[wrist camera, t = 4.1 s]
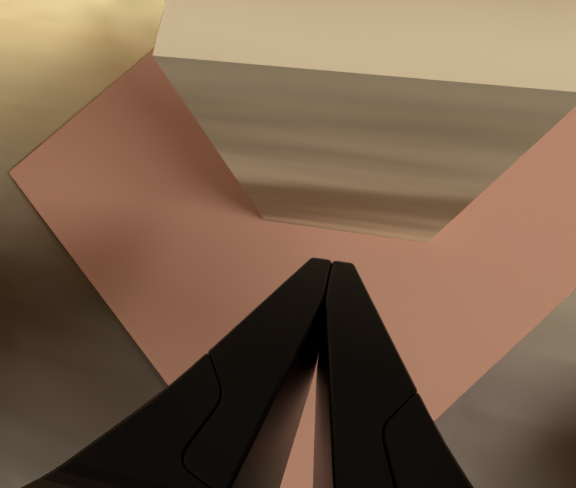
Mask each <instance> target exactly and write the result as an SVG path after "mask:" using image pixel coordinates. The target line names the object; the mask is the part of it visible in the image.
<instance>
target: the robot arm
mask: <svg viewBox="0 0 576 488" xmlns="http://www.w3.org/2000/svg"><path fill="white" fill-rule="evenodd" d="M317 360H318V363H317ZM316 365H317V374H316V400H315V431H314V463H313V488H474V487H473V486H472V484H471V483H470V481H469V480H468V478H467V477H466V475H465V473H464V472H463V470H462V469H461V467H460V465H459V464H458V462H457V461H456V459H455V457H454V456H453V454H452V453H451V451H450V449H449V448H448V446H447V445H446V443H445V441H444V439H443V437H442V436H441V434H440V432H439V430H438V428H437V426H436V425H435V423H434V421H433V419H432V417H431V416H430V414H429V412H428V410H427V408H426V406H425V404H424V402H423V400H422V398H421V396H420V394H419V393H417V388H416V386H415V384H414V382H413V380H412V378H411V376H410V374H409V372H408V370H407V368H406V367H405V365H404V363H403V361H402V359H401V357H400V355H399V353H398V351H397V349H396V347H395V345H394V343H393V341H392V339H391V337H390V335H389V333H388V331H387V329H386V327H385V325H384V323H383V321H382V319H381V317H380V315H379V313H378V311H377V309H376V307H375V305H374V303H373V301H372V299H371V297H370V295H369V293H368V291H367V289H366V287H365V285H364V283H363V281H362V279H361V277H360V275H359V273H358V272H357V270H356V268H355V266H354V264H352V263H349V262H342V261H333V263H332V262H331V261H330V260H328V259H322V258H315V257H313V258H310V259H309V260H308V261H307V262H306V263H305V264H304V265H303V266H301V267H300V268H299V269H298V270H297V271H296V272H295V273H294V274H293V275H292V276H290V277H289V278H288V279H287V280H286V281H285V282H284V283H283V284H282V285H281V286H279V287H278V288H277V289H276V290H275V291H274V292H273V293H272V294H271V295H270V296H268V297H267V298H266V299H265V300H264V301H263V302H262V303H261V304H260V305H259V306H257V307H256V308H255V309H254V310H253V311H252V312H251V313H250V314H249V315H247V316H246V317H245V318H244V319H243V320H242V321H241V322H240V323H239V324H238V325H236V326H235V327H234V328H233V329H232V330H231V331H230V332H229V333H228V334H227V335H225V336H224V337H223V338H222V339H221V340H220V341H219V342H218V343H217V344H216V345H214V346H213V347H212V348H211V349H210V350H209V351H208V354H204V355H203V356H202V357H201V358H200V359H199V360H198V361H197V362H195V363H194V364H193V365H192V366H191V367H190V368H189V369H188V370H186V371H185V372H184V373H183V374H182V375H181V376H179V377H178V378H177V379H176V380H175V381H174V382H172V383H171V384H170V385H169V386H168V387H166V388H165V389H164V390H162V391H161V392H160V393H158V394H157V395H156V396H155V397H153V398H152V399H151V400H149V401H148V402H147V403H145V404H144V405H143V406H141V407H140V408H139V409H137V410H136V411H135V412H133V413H132V414H131V415H129V416H128V417H126V418H125V419H124V420H122V421H121V422H120V423H118V424H117V425H115V426H114V427H113V428H111V429H110V430H109V431H107V432H106V433H105V434H103V435H102V436H100V437H99V438H98V439H96V440H95V441H94V442H92V443H91V444H89V445H88V446H87V447H85V448H84V449H83V450H81V451H80V452H78V453H77V454H76V455H74V456H73V457H72V458H70V459H69V460H67V461H66V462H64V463H63V464H62V465H60V466H59V467H57V468H56V469H54V470H53V471H51V472H49V473H48V474H46V475H44V476H42V477H41V478H39V479H37V480H35V481H33V482H31V483H29V484H27V485H25V486H23V487H21V488H280V486H281V482H282V479H283V476H284V472H285V469H286V466H287V462H288V459H289V456H290V453H291V449H292V446H293V443H294V439H295V436H296V433H297V430H298V426H299V423H300V420H301V416H302V413H303V410H304V406H305V403H306V400H307V397H308V393H309V390H310V387H311V383H312V380H313V377H314V373H315V369H316Z"/></svg>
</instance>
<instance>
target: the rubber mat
mask: <svg viewBox="0 0 576 488" xmlns="http://www.w3.org/2000/svg"><path fill="white" fill-rule="evenodd" d="M153 51H154V49H153V50H152V51H151V52H150V53H149V54H147V55H146V56H145V57H144V58H143V59H142V60H140V61H139V62H138V63H137V64H136V65H135V66H133V67H132V68H131V69H130V70H129V71H127V72H126V73H125V74H124V75H123V76H122V77H120V78H119V79H118V80H117V81H116V82H114V83H113V84H112V85H111V86H110V87H109V88H107V89H106V90H105V91H104V92H103V93H102V94H100V95H99V96H98V97H97V98H96V99H94V100H93V101H92V102H91V103H90V104H89V105H87V106H86V107H85V108H84V109H83V110H81V111H80V112H79V113H78V114H77V115H76V116H74V117H73V118H72V119H71V120H70V121H69V122H67V123H66V124H65V125H64V126H63V127H61V128H60V129H59V130H58V131H57V132H56V133H54V134H53V135H52V136H51V137H50V138H49V139H47V140H46V141H45V142H44V143H43V144H41V145H40V146H39V147H38V148H37V149H36V150H34V151H33V152H32V153H31V154H30V155H28V156H27V157H26V158H25V159H24V160H23V161H21V162H20V163H19V164H18V165H17V166H16V167H14V168H13V169H12V170H11V171H10V172H9V174H10V175H11V176H12V178H13V179H14V180H15V182H16V183H17V184H18V186H19V187H20V188H21V190H22V191H23V192H24V194H25V195H26V196H27V198H28V199H29V200H30V202H31V203H32V204H33V206H34V207H35V208H36V210H37V211H38V212H39V214H40V215H41V216H42V218H43V219H44V220H45V222H46V223H47V224H48V226H49V227H50V228H51V230H52V231H53V232H54V234H55V235H56V236H57V238H58V239H59V240H60V242H61V243H62V244H63V246H64V247H65V248H66V250H67V251H68V252H69V254H70V255H71V256H72V258H73V259H74V260H75V262H76V263H77V264H78V266H79V267H80V268H81V270H82V271H83V272H84V274H85V275H86V276H87V278H88V279H89V280H90V282H91V283H92V284H93V286H94V287H95V288H96V290H97V291H98V292H99V294H100V295H101V296H102V298H103V299H104V300H105V302H106V303H107V304H108V306H109V307H110V308H111V310H112V311H113V312H114V314H115V315H116V316H117V318H118V319H119V320H120V322H121V323H122V324H123V326H124V327H125V328H126V330H127V331H128V332H129V334H130V335H131V336H132V338H133V339H134V340H135V342H136V343H137V344H138V346H139V347H140V348H141V350H142V351H143V352H144V354H145V355H146V356H147V358H148V359H149V360H150V362H151V363H152V364H153V366H154V367H155V368H156V370H157V371H158V372H159V374H160V375H161V376H162V378H163V379H164V380H165V382H166V383H167V384H168V386H169V385H170V384H171V383H172V382H174V381H175V380H176V379H177V378H178V377H179V376H181V375H182V374H183V373H184V372H185V371H186V370H188V369H189V368H190V367H191V366H192V365H193V364H194V363H195V362H197V361H198V360H199V359H200V358H201V357H202V356H203V355H204V354H208V351H209V350H210V349H211V348H212V347H213V346H214V345H216V344H217V343H218V342H219V341H220V340H221V339H222V338H223V337H224V336H225V335H227V334H228V333H229V332H230V331H231V330H232V329H233V328H234V327H235V326H236V325H238V324H239V323H240V322H241V321H242V320H243V319H244V318H245V317H246V316H247V315H249V314H250V313H251V312H252V311H253V310H254V309H255V308H256V307H257V306H259V305H260V304H261V303H262V302H263V301H264V300H265V299H266V298H267V297H268V296H270V295H271V294H272V293H273V292H274V291H275V290H276V289H277V288H278V287H279V286H281V285H282V284H283V283H284V282H285V281H286V280H287V279H288V278H289V277H290V276H292V275H293V274H294V273H295V272H296V271H297V270H298V269H299V268H300V267H301V266H303V265H304V264H305V263H306V262H307V261H308V260H309V259H310V258H313V257H315V258H322V259H328V260H330V261H331V262H332V263H333V261H342V262H349V263H352V264H354V266H355V268H356V270H357V272H358V273H359V275H360V277H361V279H362V281H363V283H364V285H365V287H366V289H367V291H368V293H369V295H370V297H371V299H372V301H373V303H374V305H375V307H376V309H377V311H378V313H379V315H380V317H381V319H382V321H383V323H384V325H385V327H386V329H387V331H388V333H389V335H390V337H391V339H392V341H393V343H394V345H395V347H396V349H397V351H398V353H399V355H400V357H401V359H402V361H403V363H404V365H405V367H406V368H407V370H408V372H409V374H410V376H411V378H412V380H413V382H414V384H415V386H416V388H417V393H419V394H420V396H421V398H422V400H423V402H424V404H425V406H426V408H427V410H428V412H429V414H430V416H431V417H432V419H433V421H435V420H436V419H437V418H438V417H439V416H440V415H441V414H442V413H443V412H444V411H445V410H446V409H447V408H448V407H450V406H451V405H452V404H453V403H454V402H455V401H456V400H457V399H458V398H459V397H460V396H461V395H462V394H463V393H465V392H466V391H467V390H468V389H469V388H470V387H471V386H472V385H473V384H474V383H475V382H476V381H477V380H478V379H479V378H481V377H482V376H483V375H484V374H485V373H486V372H487V371H488V370H489V369H490V368H491V367H492V366H493V365H494V364H496V363H497V362H498V361H499V360H500V359H501V358H502V357H503V356H504V355H505V354H506V353H507V352H508V351H509V350H510V349H512V348H513V347H514V346H515V345H516V344H517V343H518V342H519V341H520V340H521V339H522V338H523V337H524V336H525V335H527V334H528V333H529V332H530V331H531V330H532V329H533V328H534V327H535V326H536V325H537V324H538V323H539V322H540V321H541V320H543V319H544V318H545V317H546V316H547V315H548V314H549V313H550V312H551V311H552V310H553V309H554V308H555V307H556V306H558V305H559V304H560V303H561V302H562V301H563V300H564V299H565V298H566V297H567V296H568V295H569V294H570V293H571V292H572V291H574V290H575V289H576V107H575V108H573V109H572V110H571V111H570V112H569V113H568V114H567V115H566V116H565V117H564V118H563V119H561V120H560V121H559V122H558V123H557V124H556V125H555V126H554V127H553V128H552V129H551V130H550V131H548V132H547V133H546V134H545V135H544V136H543V137H542V138H541V139H540V140H539V141H538V142H537V143H535V144H534V145H533V146H532V147H531V148H530V149H529V150H528V151H527V152H526V153H525V154H523V155H522V156H521V157H520V158H519V159H518V160H517V161H516V162H515V163H514V164H513V165H512V166H510V167H509V168H508V169H507V170H506V171H505V172H504V173H503V174H502V175H501V176H500V177H498V178H497V179H496V180H495V181H494V182H493V183H492V184H491V185H490V186H489V187H488V188H487V189H485V190H484V191H483V192H482V193H481V194H480V195H479V196H478V197H477V198H476V199H475V200H474V201H472V202H471V203H470V204H469V205H468V206H467V207H466V208H465V209H464V210H463V211H462V212H460V213H459V214H458V215H457V216H456V217H455V218H454V219H453V220H452V221H451V222H450V223H449V224H447V225H446V226H445V227H444V228H443V229H442V230H441V231H440V232H439V233H438V234H437V235H435V236H434V237H433V238H432V239H431V240H430V241H429V242H428V243H423V242H416V241H409V240H402V239H395V238H387V237H380V236H373V235H366V234H359V233H351V232H344V231H337V230H330V229H323V228H316V227H308V226H301V225H294V224H287V223H280V222H272V221H265V220H264V219H263V218H262V216H261V215H260V213H259V212H258V210H257V209H256V207H255V206H254V204H253V203H252V201H251V200H250V198H249V197H248V195H247V194H246V192H245V191H244V190H243V188H242V187H241V185H240V184H239V182H238V181H237V179H236V178H235V176H234V175H233V173H232V172H231V170H230V169H229V167H228V166H227V165H226V163H225V162H224V160H223V159H222V157H221V156H220V154H219V153H218V151H217V150H216V148H215V147H214V145H213V144H212V142H211V141H210V140H209V138H208V137H207V135H206V134H205V132H204V131H203V129H202V128H201V126H200V125H199V123H198V122H197V120H196V119H195V117H194V116H193V114H192V113H191V112H190V110H189V109H188V107H187V106H186V104H185V103H184V101H183V100H182V98H181V97H180V95H179V94H178V92H177V91H176V89H175V88H174V87H173V85H172V84H171V82H170V81H169V79H168V78H167V76H166V75H165V73H164V72H163V70H162V69H161V67H160V66H159V64H158V63H157V61H156V60H155V59H154V57H153V56H152V55H153ZM317 363H318V360H317ZM316 374H317V365H316V369H315V373H314V377H313V380H312V383H311V387H310V390H309V393H308V397H307V400H306V403H305V406H304V410H303V413H302V416H301V420H300V423H299V426H298V430H297V433H296V436H295V439H294V443H293V446H292V449H291V453H290V456H289V459H288V462H287V466H286V469H285V472H284V476H283V479H282V482H281V486H280V488H313V463H314V431H315V400H316Z"/></svg>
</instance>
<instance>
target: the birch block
mask: <svg viewBox="0 0 576 488" xmlns="http://www.w3.org/2000/svg"><path fill="white" fill-rule="evenodd" d="M152 56H153V57H154V59H155V60H156V61H157V63H158V64H159V66H160V67H161V69H162V70H163V72H164V73H165V75H166V76H167V78H168V79H169V81H170V82H171V84H172V85H173V87H174V88H175V89H176V91H177V92H178V94H179V95H180V97H181V98H182V100H183V101H184V103H185V104H186V106H187V107H188V109H189V110H190V112H191V113H192V114H193V116H194V117H195V119H196V120H197V122H198V123H199V125H200V126H201V128H202V129H203V131H204V132H205V134H206V135H207V137H208V138H209V140H210V141H211V142H212V144H213V145H214V147H215V148H216V150H217V151H218V153H219V154H220V156H221V157H222V159H223V160H224V162H225V163H226V165H227V166H228V167H229V169H230V170H231V172H232V173H233V175H234V176H235V178H236V179H237V181H238V182H239V184H240V185H241V187H242V188H243V190H244V191H245V192H246V194H247V195H248V197H249V198H250V200H251V201H252V203H253V204H254V206H255V207H256V209H257V210H258V212H259V213H260V215H261V216H262V218H263V219H264V220H265V221H272V222H280V223H287V224H294V225H301V226H308V227H316V228H323V229H330V230H337V231H344V232H351V233H359V234H366V235H373V236H380V237H387V238H395V239H402V240H409V241H416V242H423V243H428V242H429V241H430V240H431V239H432V238H433V237H434V236H435V235H437V234H438V233H439V232H440V231H441V230H442V229H443V228H444V227H445V226H446V225H447V224H449V223H450V222H451V221H452V220H453V219H454V218H455V217H456V216H457V215H458V214H459V213H460V212H462V211H463V210H464V209H465V208H466V207H467V206H468V205H469V204H470V203H471V202H472V201H474V200H475V199H476V198H477V197H478V196H479V195H480V194H481V193H482V192H483V191H484V190H485V189H487V188H488V187H489V186H490V185H491V184H492V183H493V182H494V181H495V180H496V179H497V178H498V177H500V176H501V175H502V174H503V173H504V172H505V171H506V170H507V169H508V168H509V167H510V166H512V165H513V164H514V163H515V162H516V161H517V160H518V159H519V158H520V157H521V156H522V155H523V154H525V153H526V152H527V151H528V150H529V149H530V148H531V147H532V146H533V145H534V144H535V143H537V142H538V141H539V140H540V139H541V138H542V137H543V136H544V135H545V134H546V133H547V132H548V131H550V130H551V129H552V128H553V127H554V126H555V125H556V124H557V123H558V122H559V121H560V120H561V119H563V118H564V117H565V116H566V115H567V114H568V113H569V112H570V111H571V110H572V109H573V108H575V107H576V0H166V2H165V6H164V10H163V14H162V19H161V23H160V27H159V31H158V35H157V39H156V43H155V47H154V51H153V55H152Z"/></svg>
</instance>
